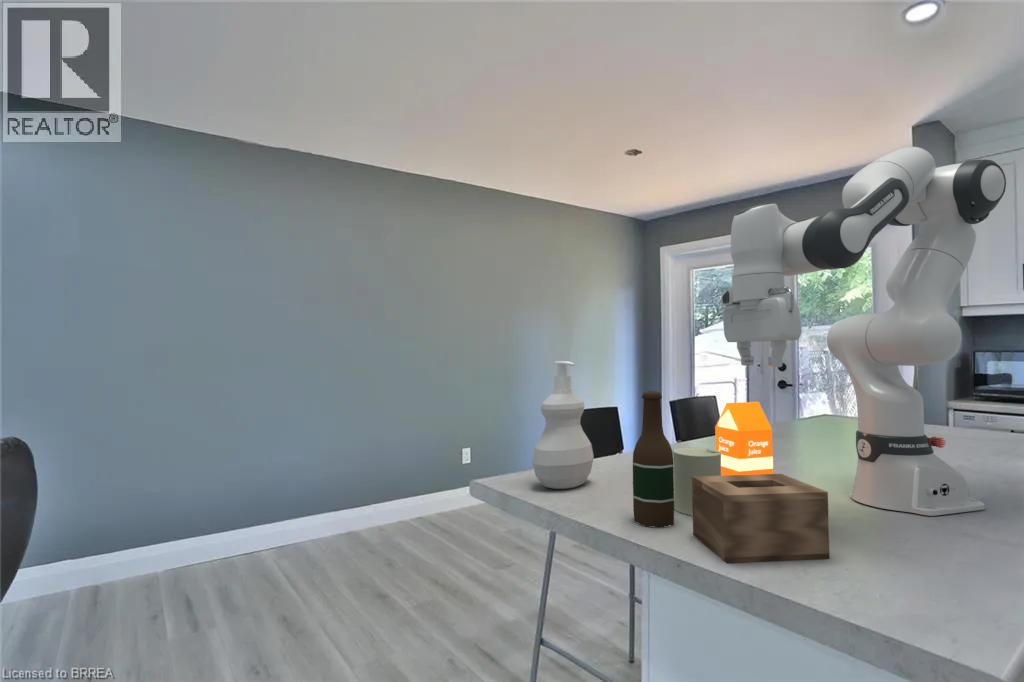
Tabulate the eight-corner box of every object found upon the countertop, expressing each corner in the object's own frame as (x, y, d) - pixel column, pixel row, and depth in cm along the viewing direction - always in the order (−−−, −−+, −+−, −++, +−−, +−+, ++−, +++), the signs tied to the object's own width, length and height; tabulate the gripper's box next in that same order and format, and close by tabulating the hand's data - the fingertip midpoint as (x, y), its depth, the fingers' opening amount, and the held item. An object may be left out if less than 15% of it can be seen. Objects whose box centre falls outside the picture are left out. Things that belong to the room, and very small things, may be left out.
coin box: (782, 531, 91) (781, 473, 92) (829, 558, 79) (827, 491, 80) (693, 535, 90) (691, 476, 90) (726, 563, 78) (725, 495, 78)
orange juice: (715, 491, 118) (714, 401, 119) (748, 487, 121) (746, 400, 121) (740, 500, 111) (738, 404, 111) (774, 496, 113) (772, 403, 114)
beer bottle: (627, 515, 101) (625, 390, 102) (666, 514, 102) (664, 389, 102) (640, 529, 94) (638, 393, 94) (682, 527, 94) (680, 393, 95)
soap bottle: (555, 496, 115) (553, 362, 116) (521, 486, 124) (519, 361, 124) (606, 483, 126) (604, 360, 126) (571, 475, 135) (569, 360, 135)
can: (727, 518, 99) (725, 454, 99) (676, 515, 101) (674, 452, 101) (718, 504, 108) (716, 445, 108) (671, 502, 110) (670, 444, 110)
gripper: (810, 284, 88) (813, 367, 88) (746, 297, 108) (748, 364, 108) (773, 285, 87) (777, 368, 87) (716, 297, 108) (718, 365, 107)
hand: (760, 366), depth 98 cm, fingers open, 8 cm apart
